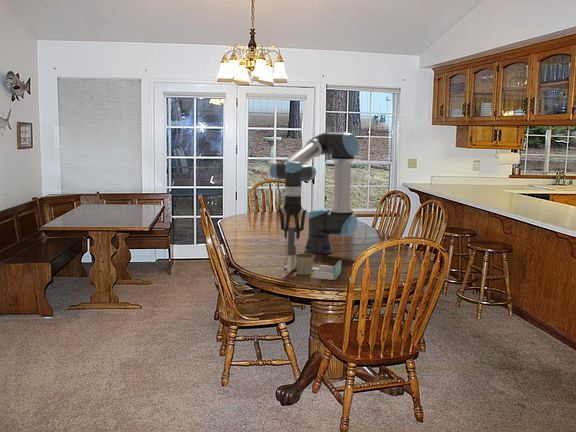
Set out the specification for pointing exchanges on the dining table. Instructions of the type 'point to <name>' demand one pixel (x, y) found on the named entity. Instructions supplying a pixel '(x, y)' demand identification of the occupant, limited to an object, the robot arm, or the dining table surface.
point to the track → (297, 269)
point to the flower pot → (304, 263)
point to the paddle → (291, 249)
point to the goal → (328, 271)
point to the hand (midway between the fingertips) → (292, 245)
